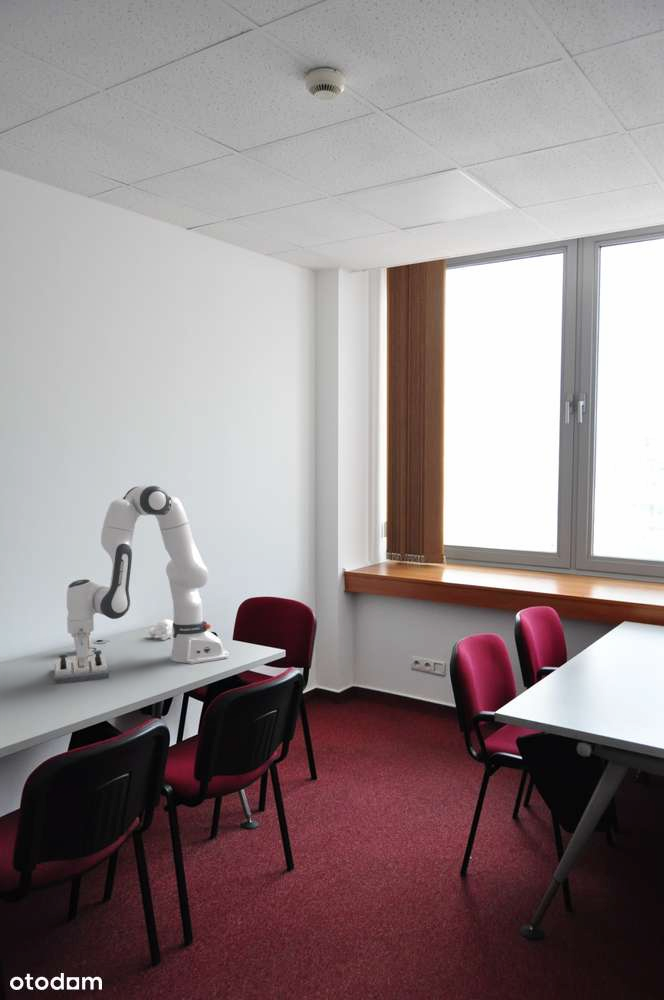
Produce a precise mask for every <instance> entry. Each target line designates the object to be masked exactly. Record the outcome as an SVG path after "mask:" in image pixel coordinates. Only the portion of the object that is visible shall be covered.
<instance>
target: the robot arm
mask: <svg viewBox="0 0 664 1000" xmlns="http://www.w3.org/2000/svg"><path fill="white" fill-rule="evenodd" d="M105 514H106V515H105V517H104V521H103V525H102V528H101V534H100V537H101V538H100V539H101V540H100V543H101V546H102V548H103V549H104V551H105V552H106V553H107V554H108V555H109V557H110V559H111V562H112V567H111V569H112V570H111V577H110V585H109V586H104V585H100V584H98V583H94V582H92V581H91V580H90V579H85V578H84V579H78V580H75V581H71V583H70V584H68V587H67V591H66V610H67V617H66V623H67V624H66V626H67V629H66V631H67V633H68V634H71V635H70V636H71V637H72V638H73V641H74V642H73V643H74V645H75V646H74V647H75V653H76V659H77V658H78V659H79V666H84V665H85V658H89V656H88V655H89V651H88V641H87V636H89V637H90V636H91V632H94V631H95V630H94V629H95V625H94V620H95V619H94V615H95V614H100V615H103V616H105V617H107V618H109V619H111V620H116V619H117V620H118V619H120V618H122V617H123V616H125V615H126V614H127V613H128V611H129V609H130V606H131V597H130V591H129V589H130V588H129V586H130V580H131V579H130V577H131V570H132V562H133V561H132V560H133V553H132V552H133V551H132V546H133V537H134V531H135V529H136V528H135V526H136V522H137V521H138V519H139V518H140V516H154V517H155V518H156V520H157V523H158V526H159V531H160V534H161V537H162V542H163V545H164V548H165V550H166V552H167V553H168V555H169V557H170V559H171V560H169V562H168V563H167V564H166V566H165V567H166V568H165V573H166V576H167V578H168V582H169V589H170V593H171V597H172V605H173V608H172V609H173V613H172V614H173V626H172V633H173V635H172V638H173V641H172V647H171V648H172V649H171V655H170V661H173V662H176V663H184V664H191V665H193V664H198V663H199V664H200V663H205V662H212V661H217V660H218V661H219V660H224V658H225V659H228V658H229V657H230V653H229V651H228V650H226V649H225V648H224V647H223V646H224V645H223V643H222V642H223V641H222V640H221V638H219V637H218V636H217V635H215V634H214V633H212V632H211V631H210V630H209V629H211V624H210V623H209V622H206V621H205V620H203V600H202V598H201V596H200V592H199V589H200V588H203V587H204V586H205V585H206V584H207V583H208V581H209V580H210V572H209V569H208V568H207V566H206V564H205V563H204V560H203V558H202V557H201V554H200V552H199V550H198V547H197V545H196V543H195V540H194V537H193V533H192V530H191V527H190V523H189V518H188V516H187V513H186V510H185V508H184V505H183V504H182V501H181V500H180V499H179V498H178V497H176V496H169V495H168V493H167V491H165V490H164V489H163V488H161V487H159V486H157V485H148V484H147V485H146V484H145V485H141V486H135V487H132V488H130V489H129V490H128V491H127V492H126V493H125V495H124V496H123V498H118V499H117V498H116V499H115V500H113V501H111V503H110V504H109V506H108V509H107V511H106V513H105Z"/></svg>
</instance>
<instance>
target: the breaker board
mask: <svg viewBox="0 0 664 1000" xmlns="http://www.w3.org/2000/svg"><path fill="white" fill-rule="evenodd" d="M109 672H110V671H109V669H108V664H107V661H106V656H105V655H100V664H96V656H89V657H87V658H85V665H84V666H83V667H79V661H78V659H77V658H73V659H72V661H71V658H70V659H65V667H64V668H61V659H60V660H55V664H54V684H55V685H57V684H58V685H59V684H68V683H76V682H77V683H78V682H86V681H97V680H104V679H109V678H110V673H109Z"/></svg>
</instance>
